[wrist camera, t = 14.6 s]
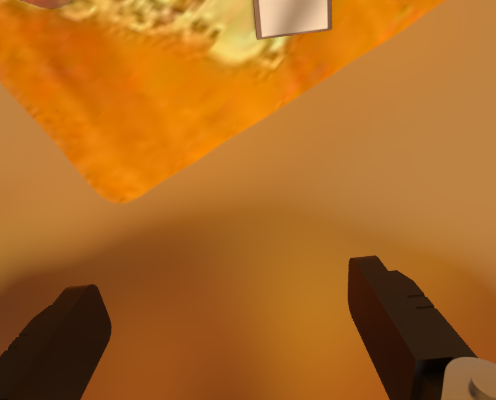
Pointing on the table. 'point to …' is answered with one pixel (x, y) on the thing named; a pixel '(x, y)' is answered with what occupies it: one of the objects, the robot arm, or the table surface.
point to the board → (291, 17)
